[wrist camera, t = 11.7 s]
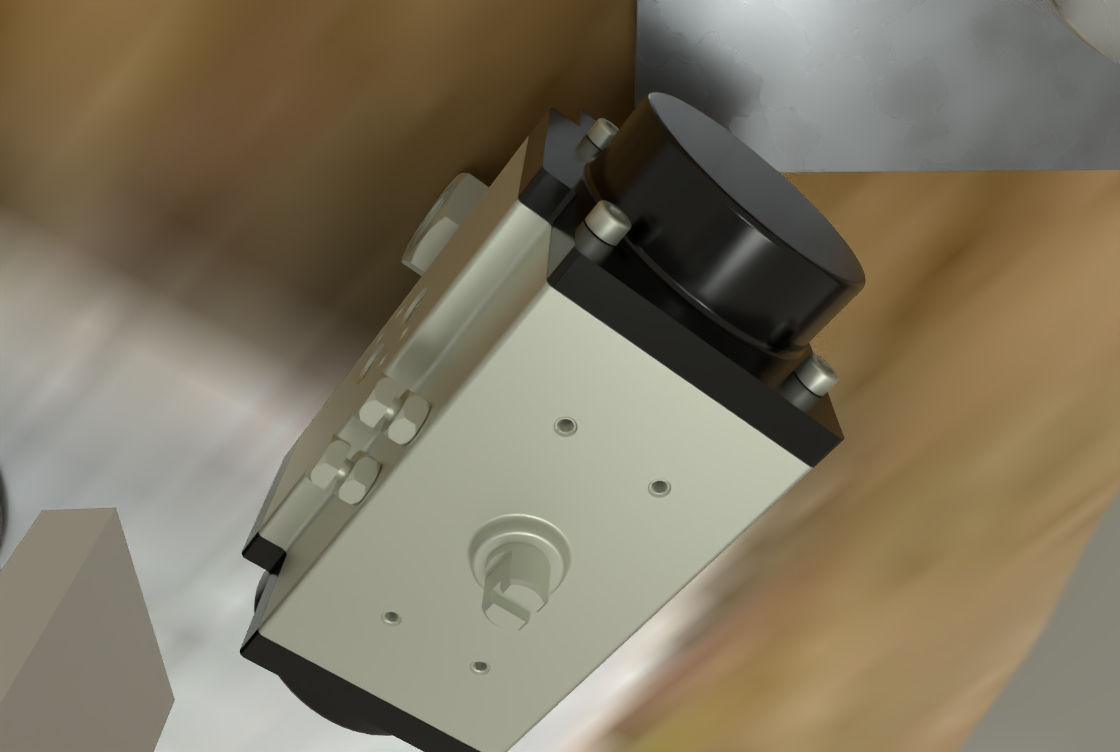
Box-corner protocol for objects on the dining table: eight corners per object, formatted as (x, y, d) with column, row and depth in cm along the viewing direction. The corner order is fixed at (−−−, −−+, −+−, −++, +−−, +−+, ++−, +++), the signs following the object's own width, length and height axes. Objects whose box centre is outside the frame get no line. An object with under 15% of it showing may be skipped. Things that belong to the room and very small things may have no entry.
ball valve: (593, -32, 33) (591, 146, 18) (795, 131, 35) (948, 414, 20) (302, 366, 41) (123, 736, 25) (485, 479, 43) (423, 880, 28)
